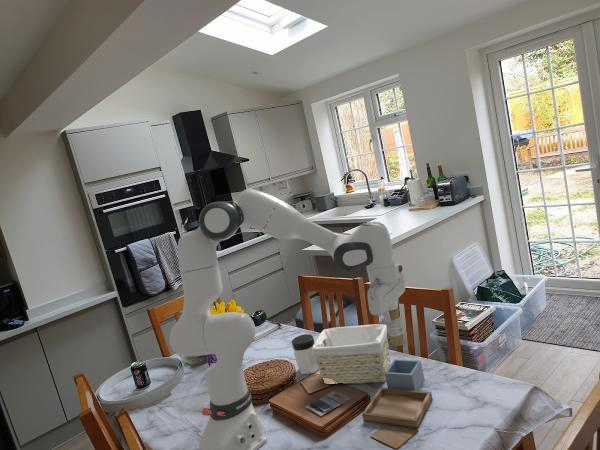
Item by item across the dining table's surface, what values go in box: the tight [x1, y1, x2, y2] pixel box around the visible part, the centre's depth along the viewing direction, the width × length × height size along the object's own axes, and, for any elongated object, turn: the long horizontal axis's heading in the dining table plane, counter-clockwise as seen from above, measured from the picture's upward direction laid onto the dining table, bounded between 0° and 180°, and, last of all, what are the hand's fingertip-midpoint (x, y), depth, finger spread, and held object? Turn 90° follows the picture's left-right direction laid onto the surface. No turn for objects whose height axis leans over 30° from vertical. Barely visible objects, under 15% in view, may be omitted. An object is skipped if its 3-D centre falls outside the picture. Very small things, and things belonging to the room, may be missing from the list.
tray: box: [361, 387, 434, 430], centre depth 134 cm, size 14×16×2 cm
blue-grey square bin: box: [384, 358, 425, 391], centre depth 146 cm, size 9×9×6 cm
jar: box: [291, 333, 319, 375], centre depth 172 cm, size 9×8×12 cm
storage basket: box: [312, 323, 391, 385], centre depth 160 cm, size 24×16×15 cm
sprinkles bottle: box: [385, 301, 406, 347], centre depth 142 cm, size 5×5×14 cm
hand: (392, 317), depth 142 cm, fingers closed on sprinkles bottle, 4 cm apart
